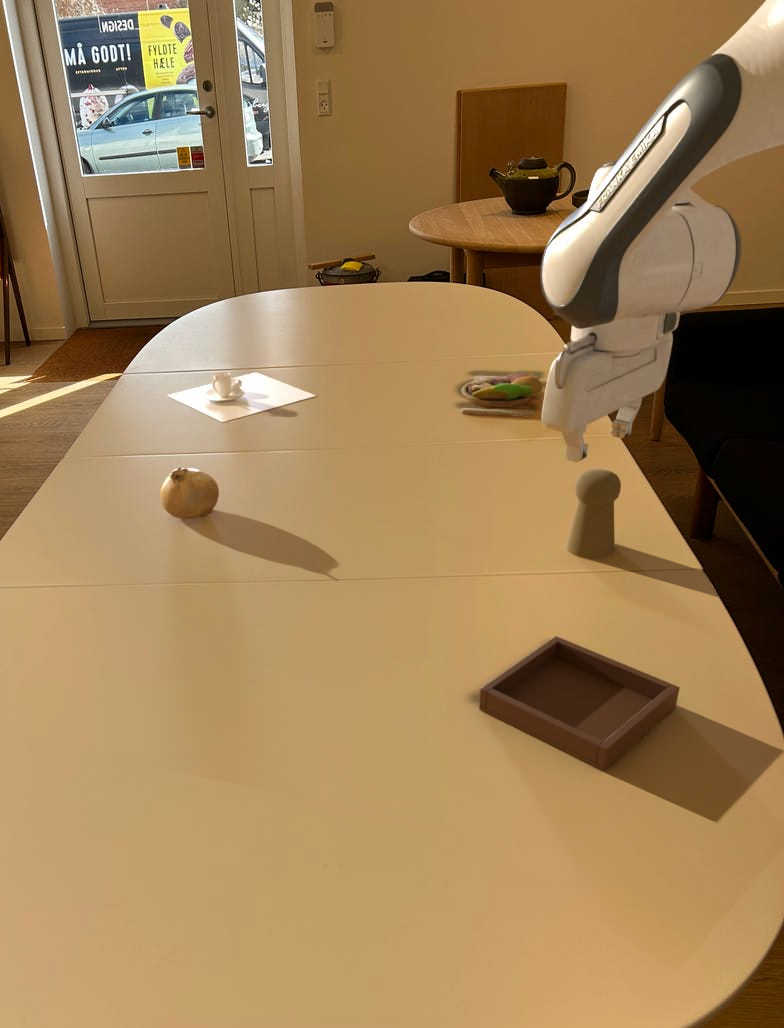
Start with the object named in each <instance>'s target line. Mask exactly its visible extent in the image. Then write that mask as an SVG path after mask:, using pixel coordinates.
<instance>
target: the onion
mask: <svg viewBox="0 0 784 1028" xmlns="http://www.w3.org/2000/svg"><path fill="white" fill-rule="evenodd" d="M219 495H220V490H219V485H218V483H217V482H216V480H215V478H214V477H212V475H210V474H209V473H207V472H205V471H203V470H200V469H197V468H185V467H180V466H177V467H176V468H174V469H173V470H170V473H169V475H168V476H167V477H166V478H165V480H164V482H163V484H162V485H161V488H160V492H159V497H160V502H161V505H162V507H163V509H164V510H165V511H166V512H167V513H168V514H169V515H170V516H172V517H174V518H175V519H180V520H181V519H183V520H192V519H197V518H199V517H200V518H204V517H206V516H208V515H211V514H212V513H213V512H214V509H215V507H216V505H217V504H218V500H219Z"/></svg>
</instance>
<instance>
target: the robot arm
mask: <svg viewBox="0 0 784 1028" xmlns="http://www.w3.org/2000/svg"><path fill="white" fill-rule="evenodd" d="M782 145H784V0H765V1H764V2H763V3H762V4H761V5H760V7H758V8H757V10H755V12H754V13H753V14H752V15H751V16H750V17H749V19H747V21H746V22H745V23H743V25H741V27H740V28H739V29H737V31H736V32H735V33H734V34H733V35H732V36H731V37H730V38H729V39H728V40H727V41H725V42H724V43H723V44H722V45H721V46H720V47H719V48H718V49H717V50H716V51H714V52H713V53H712V54H711V55H709V56H708V57H706V58H705V59H703V61H701V62H700V63H699V64H698V65H697V66H695V67H694V68H693V69H691V70H690V72H688V73H687V74H686V75H684V77H683V78H682V79H681V80H680V81H679V82H678V83H677V84H676V86H674V87H673V89H672V90H671V92H669V94H668V95H667V96H666V97H665V99H663V101H662V102H661V103H660V105H659V106H658V107H657V109H656V110H655V111H654V112H653V114H652V115H651V116H650V118H648V120H647V122H646V123H645V124H644V125H643V126H642V128H641V130H640V131H639V132H638V134H636V136H635V138H634V139H633V140H632V141H631V143H630V144H629V145H628V147H627V148H626V150H624V152H623V153H622V154H621V156H620V157H619V159H617V160H613V161H609V162H607V163H605V164H603V165H602V166H601V167H599V168H598V169H597V170H596V172H595V173H594V176H593V179H592V182H591V185H590V189H589V193H588V196H587V200H586V201H585V202H584V203H583V204H582V205H581V206H579V207H578V208H577V209H576V210H574V211H573V212H572V213H570V214H569V215H568V216H567V217H566V218H565V219H564V220H563V221H562V223H560V225H559V226H558V227H557V228H556V230H555V231H554V233H553V234H552V236H551V237H550V239H549V241H548V243H547V245H546V247H545V249H544V252H543V255H542V258H541V263H540V273H539V274H540V275H539V277H540V286H541V291H542V294H543V297H544V299H545V301H546V302H547V304H548V305H549V306H550V308H551V309H552V310H553V311H554V312H555V313H556V314H557V315H558V316H559V317H560V318H561V319H563V320H564V321H565V322H566V323H568V324H569V325H570V326H571V332H570V341H568V342H566V344H565V345H564V346H563V349H562V351H561V353H560V354H559V355H558V356H557V357H556V358H555V359H554V360H553V362H552V364H551V366H550V368H549V372H548V376H547V380H546V385H545V390H544V395H543V401H542V407H541V408H542V410H541V423H542V424H543V426H544V427H545V428H546V429H548V430H552V431H556V432H560V433H561V434H562V436H563V439H564V441H565V444H566V449H565V459H566V460H567V461H570V462H574V463H579V462H581V461H583V460H585V459H586V458H587V456H588V448H589V443H585V441H584V436H583V435H584V434H585V433H586V432H587V431H586V430H587V426H588V425H590V424H592V423H594V422H596V421H598V420H600V419H602V418H604V417H606V416H608V415H610V414H612V413H614V412H616V411H618V412H617V415H616V418H615V419H614V420H612V422H611V430H610V434H611V436H612V437H614V438H619V439H624V438H626V437H628V436H630V435H631V434H632V428H633V422H634V421H635V418H636V416H637V415H638V412H639V410H640V409H641V405H642V401H643V398H644V397H646V396H648V395H650V394H653V393H655V392H657V391H659V390H660V389H661V386H662V385H663V383H664V381H665V379H666V376H667V373H668V368H669V363H670V358H671V354H672V347H673V341H674V335H673V331H675V330H677V328H678V326H679V322H680V317H681V313H683V312H689V311H690V312H691V311H695V310H700V309H704V308H706V307H711V306H713V305H715V304H717V303H718V302H719V301H721V299H722V298H723V297H724V296H725V295H726V294H727V293H728V291H729V290H730V288H731V287H732V285H733V283H734V281H735V279H736V277H737V275H738V272H739V267H740V264H741V258H742V237H741V232H740V229H739V226H738V224H737V222H736V220H735V219H734V218H733V216H732V215H731V213H729V212H728V211H727V210H726V209H725V208H724V207H722V206H720V205H714V204H712V203H710V202H709V201H706V200H705V199H703V198H702V197H701V196H699V195H698V194H697V193H696V192H694V191H693V190H692V189H691V188H692V186H694V185H695V184H696V183H697V182H699V181H700V180H701V179H703V178H704V177H705V176H707V175H709V174H710V173H713V172H715V170H717V169H720V168H722V167H724V166H725V165H728V164H730V163H732V162H733V163H734V161H737V160H740V159H743V158H745V157H748V156H750V155H753V154H757V153H760V152H762V151H765V150H768V149H771V148H776V147H779V146H782Z"/></svg>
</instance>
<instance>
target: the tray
mask: <svg viewBox="0 0 784 1028" xmlns="http://www.w3.org/2000/svg"><path fill="white" fill-rule="evenodd" d="M679 693H680V686H678V685H676V684H673V683H670V682H668V681H666V680H663V679H661V678H658V677H657V676H653V675H651V674H649V673H646V672H644V671H641V670H639V669H637V668H635V667H632V666H630V665H627V664H624V663H622V662H620V661H618V660H615V659H614V658H613V659H612V658H610V657H608V656H606V655H603V654H601V653H598V652H596V651H593V650H591V649H588V648H586V647H583V646H581V645H579V644H577V643H574V642H572V641H569V640H567V639H564V638H561V637H559V636H554V637H552V638H551V639H549V640H548V641H547V642H545V643H544V644H542V645H540V646H539V647H538V648H537V649H535V650H534V651H532V652H531V653H530V654H528V655H527V656H525V657H523V658H522V659H521V660H519V661H518V662H516V663H515V664H513V665H512V666H511V667H509V668H507V669H506V670H505V671H503V672H502V673H501V674H499V675H498V676H496V677H495V678H493V679H491V681H489V682H488V683H486V684H485V685H483V686H482V687H481V688H480V690H479V705H478V709H479V710H480V711H481V712H483V713H485V714H487V715H489V716H492V717H493V718H496V719H497V720H499V721H502V722H504V723H505V724H507V725H510V726H511V727H513V728H515V729H517V730H519V731H522V732H523V733H526V734H528V735H529V736H531V737H534V738H535V739H537V740H540V741H542V742H543V743H546V744H547V745H550V746H552V747H554V748H555V749H558V750H560V751H562V752H564V753H566V754H567V755H570V756H572V757H574V758H575V759H577V760H579V761H581V762H583V763H585V764H587V765H589V766H592V767H594V768H595V769H597V770H599V771H601V772H605V771H606V770H607V769H608V768H609V767H611V765H613V764H614V763H615V762H616V761H618V759H620V758H621V757H622V756H623V755H624V754H625V753H627V752H628V751H629V750H630V749H631V748H633V747H634V745H636V744H637V743H638V742H639V741H640V740H641V739H643V738H644V737H645V736H646V735H647V734H649V732H650V731H651V730H653V729H654V728H655V727H656V726H657V725H658V724H660V723H661V722H662V721H664V719H666V718H667V717H668V716H669V715H670V714H671V713H672V712H673V711H675V709H676V708H677V702H678V698H679Z"/></svg>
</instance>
